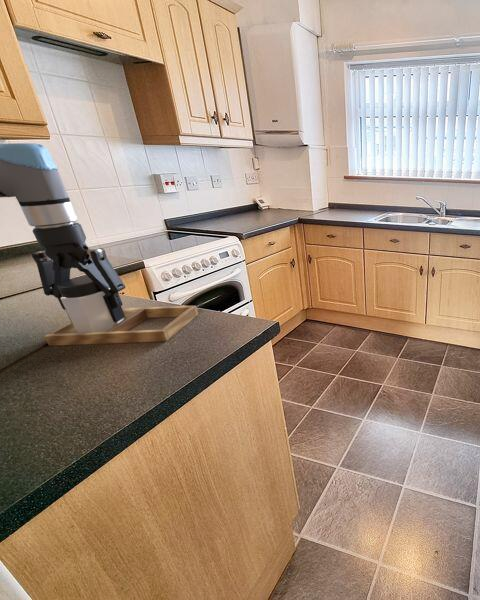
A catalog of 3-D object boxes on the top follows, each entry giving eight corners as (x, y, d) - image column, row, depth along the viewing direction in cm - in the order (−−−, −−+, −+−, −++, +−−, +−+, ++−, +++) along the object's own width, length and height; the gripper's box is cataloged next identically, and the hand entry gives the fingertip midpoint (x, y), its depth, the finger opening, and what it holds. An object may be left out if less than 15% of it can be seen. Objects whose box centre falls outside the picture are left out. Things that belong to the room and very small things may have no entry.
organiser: (48, 346, 74) (43, 336, 73) (97, 318, 87) (93, 309, 86) (166, 341, 74) (163, 331, 73) (198, 314, 87) (196, 305, 86)
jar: (88, 323, 83) (66, 277, 78) (128, 316, 85) (109, 271, 80) (73, 340, 75) (48, 290, 70) (117, 331, 78) (96, 283, 73)
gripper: (121, 219, 74) (155, 311, 83) (21, 223, 74) (67, 315, 83) (93, 226, 67) (134, 325, 76) (-16, 230, 67) (38, 330, 76)
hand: (99, 320), depth 79 cm, fingers closed on jar, 9 cm apart
